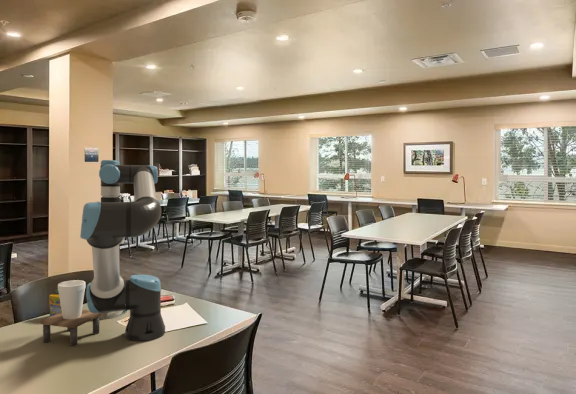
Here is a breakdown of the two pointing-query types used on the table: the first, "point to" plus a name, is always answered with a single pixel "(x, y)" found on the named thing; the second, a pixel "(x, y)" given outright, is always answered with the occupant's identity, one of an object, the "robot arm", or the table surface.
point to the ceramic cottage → (110, 315)
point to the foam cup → (71, 298)
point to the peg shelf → (70, 325)
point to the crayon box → (54, 303)
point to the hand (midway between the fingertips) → (110, 246)
